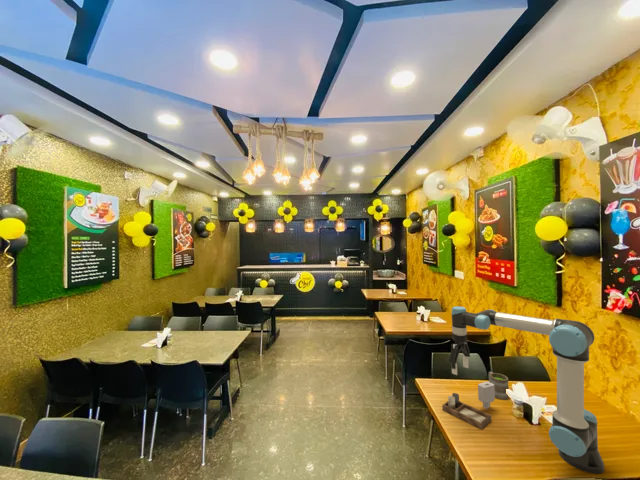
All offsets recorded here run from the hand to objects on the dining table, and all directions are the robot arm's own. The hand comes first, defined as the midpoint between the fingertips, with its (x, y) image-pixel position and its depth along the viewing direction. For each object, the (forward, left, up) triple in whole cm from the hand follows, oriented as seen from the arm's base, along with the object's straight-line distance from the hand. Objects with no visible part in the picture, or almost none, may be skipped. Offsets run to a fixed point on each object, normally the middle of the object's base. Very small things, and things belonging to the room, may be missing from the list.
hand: (460, 370), depth 158 cm
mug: (-2, -42, -26) cm, 50 cm away
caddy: (-1, -2, -26) cm, 26 cm away
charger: (-6, -17, -26) cm, 32 cm away
